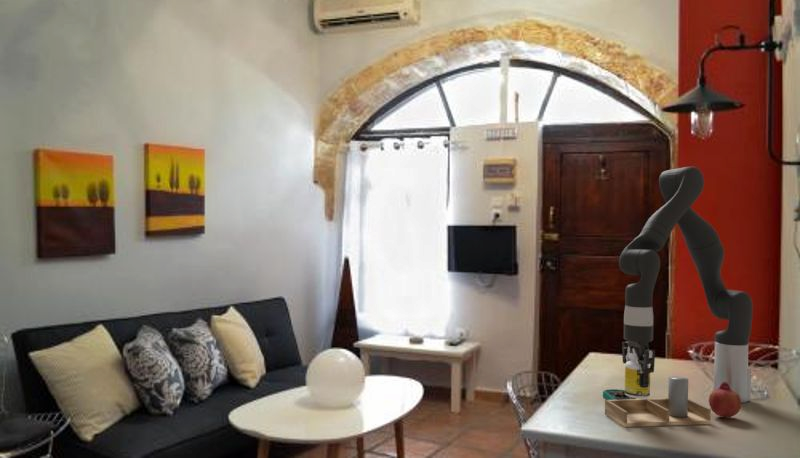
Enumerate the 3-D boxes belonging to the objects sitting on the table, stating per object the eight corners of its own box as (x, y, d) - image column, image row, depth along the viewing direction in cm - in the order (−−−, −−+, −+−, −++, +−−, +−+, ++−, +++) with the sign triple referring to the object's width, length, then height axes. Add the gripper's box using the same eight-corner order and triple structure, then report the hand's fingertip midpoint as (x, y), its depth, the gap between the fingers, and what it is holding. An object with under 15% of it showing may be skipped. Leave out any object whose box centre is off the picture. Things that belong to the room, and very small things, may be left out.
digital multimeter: (625, 398, 208) (625, 388, 208) (643, 411, 193) (643, 401, 193) (601, 398, 208) (601, 388, 208) (617, 411, 193) (617, 401, 193)
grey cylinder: (679, 412, 188) (680, 376, 188) (691, 416, 183) (692, 379, 184) (664, 413, 187) (664, 376, 187) (675, 417, 182) (676, 380, 182)
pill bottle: (630, 399, 180) (631, 355, 180) (620, 393, 186) (621, 351, 186) (654, 399, 181) (655, 355, 180) (643, 392, 187) (644, 351, 187)
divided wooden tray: (686, 411, 192) (686, 397, 192) (710, 423, 181) (710, 409, 181) (604, 414, 189) (605, 400, 189) (624, 427, 177) (624, 411, 177)
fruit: (702, 416, 187) (703, 380, 187) (717, 412, 192) (718, 377, 192) (731, 424, 181) (732, 386, 181) (746, 418, 186) (747, 382, 186)
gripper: (665, 326, 177) (664, 390, 177) (638, 318, 191) (637, 377, 191) (638, 327, 176) (637, 391, 176) (613, 319, 190) (612, 378, 190)
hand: (637, 383), depth 184 cm, fingers closed on pill bottle, 6 cm apart
